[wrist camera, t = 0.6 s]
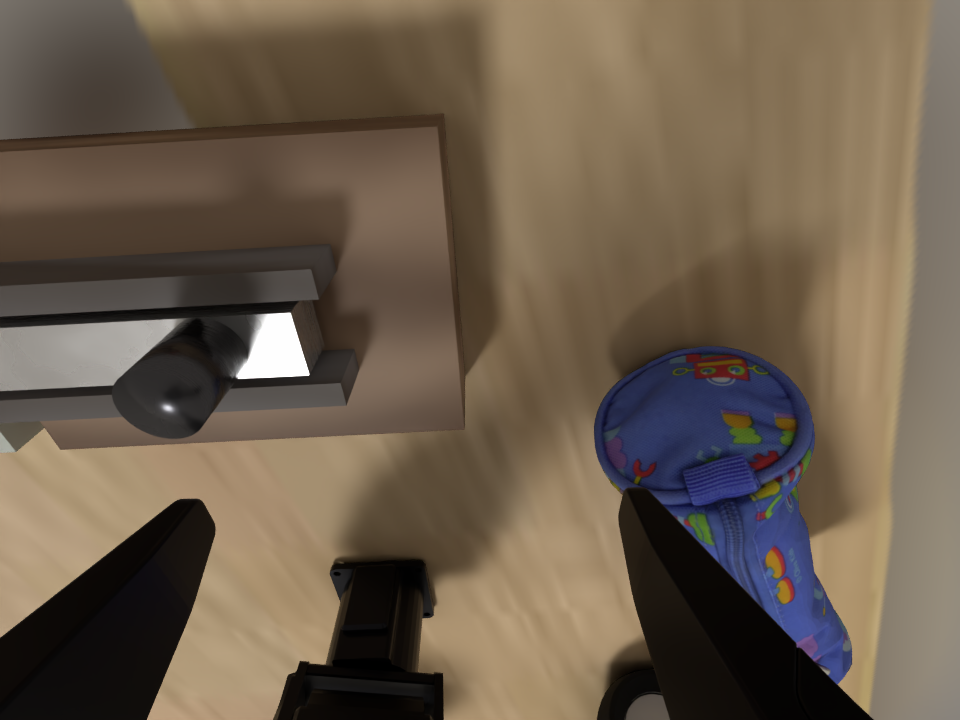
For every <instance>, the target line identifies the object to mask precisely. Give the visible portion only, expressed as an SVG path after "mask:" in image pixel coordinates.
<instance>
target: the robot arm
mask: <svg viewBox="0 0 960 720" xmlns="http://www.w3.org/2000/svg"><path fill="white" fill-rule="evenodd" d="M618 520H619V527H620V533H621V538H622V543H623V548H624V554H625V559H626V564H627V569H628V574H629V580H630V585H631V590H632V595H633V599H634V603H635V607H636V610H637V614H638V617H639V620H640V624H641V627H642V630H643V634H644V637H645V640H646V643H647V647H648V650H649V653H650V656H651V660H652V663H653V666H654V669H655V673H656V676H657V679H658V682H659V686H660V689H661V692H662V696H663V699H664V702H665V705H666V709H667V712H668V715H669V718H670V720H873V719H872V718H871V717H870V716H869V715H868V714H867V713H866V712H865V711H864V710H863V709H862V708H861V707H860V706H858V705H857V704H856V703H855V702H854V701H853V700H852V699H851V698H850V697H849V696H848V695H847V694H846V693H845V692H844V691H843V690H842V689H841V688H840V687H839V686H838V685H837V684H836V683H835V682H834V681H833V680H832V679H831V678H830V677H829V676H828V675H827V674H826V673H825V672H824V671H823V670H822V669H821V668H820V667H819V666H818V665H817V664H816V663H815V662H814V661H813V660H812V658H811V657H810V656H809V655H808V654H807V653H806V652H805V651H804V650H803V649H802V648H800V647H798V648H797V644H796V642H795V641H794V640H793V639H792V638H791V637H790V636H789V635H788V634H787V633H786V632H785V631H784V630H783V629H782V628H781V627H780V626H779V625H778V623H777V622H776V621H775V620H774V619H773V618H772V617H771V616H770V615H769V614H768V613H767V612H766V611H765V610H764V609H763V608H762V607H761V606H760V605H759V604H758V603H757V602H756V601H755V600H754V599H753V598H752V597H751V595H750V594H749V593H748V592H747V591H746V590H745V589H744V588H743V587H742V586H741V585H740V584H739V583H738V582H737V581H736V580H735V579H734V578H733V577H732V576H731V575H730V574H729V573H728V572H727V571H726V570H725V569H724V567H723V566H722V565H721V564H720V563H719V562H718V561H717V560H716V559H715V558H714V557H713V556H712V555H711V554H710V553H709V552H708V551H707V550H706V549H705V548H704V547H703V546H702V545H701V544H700V543H699V542H698V541H697V540H696V538H695V537H694V536H693V535H692V534H691V533H690V532H689V531H688V530H687V529H686V528H685V527H684V526H683V525H682V524H681V523H680V522H679V521H678V520H677V519H676V518H675V517H674V516H673V515H672V514H671V513H670V512H669V510H668V509H667V508H666V507H665V506H664V505H663V504H662V503H661V502H660V501H659V500H658V499H657V498H656V497H655V496H654V495H653V494H652V493H651V492H650V491H649V490H648V489H647V488H644V487H628V488H626V489H625V490H624V492H623V496H622V500H621V505H620V509H619V516H618ZM214 537H215V523H214V521H213V519H212V517H211V516H210V514H209V512H208V510H207V508H206V506H205V505H204V503H203V502H202V501H201V500H200V499H180V500H177V501H175V502H174V503H172V504H171V505H170V506H168V507H167V508H166V509H164V510H163V511H162V512H161V513H159V514H158V515H157V516H156V517H154V518H153V519H152V520H150V521H149V522H148V523H147V524H145V525H144V526H143V527H141V528H140V529H139V530H138V531H136V532H135V533H134V534H132V535H131V536H130V537H129V538H127V539H126V540H125V541H123V542H122V543H121V544H120V545H118V546H117V547H116V548H115V549H113V550H112V551H111V552H109V553H108V554H107V555H106V556H104V557H103V558H102V559H100V560H99V561H98V562H97V563H95V564H94V565H93V566H91V567H90V568H89V569H88V570H86V571H85V572H84V573H83V574H81V575H80V576H79V577H77V578H76V579H75V580H74V581H72V582H71V583H70V584H68V585H67V586H66V587H65V588H63V589H62V590H61V591H59V592H58V593H57V594H56V595H54V596H53V597H52V598H50V599H49V600H48V601H47V602H45V603H44V604H43V605H42V606H40V607H39V608H38V609H36V610H35V611H34V612H33V613H31V614H30V615H29V616H27V617H26V618H25V619H24V620H22V621H21V622H20V623H18V624H17V625H16V626H15V627H13V628H12V629H11V630H10V631H8V632H7V633H6V634H4V635H3V636H2V637H1V638H0V720H147V718H148V715H149V713H150V710H151V708H152V706H153V703H154V701H155V698H156V696H157V694H158V691H159V689H160V686H161V684H162V682H163V679H164V677H165V674H166V672H167V670H168V667H169V665H170V662H171V660H172V657H173V655H174V653H175V650H176V648H177V645H178V643H179V641H180V638H181V636H182V633H183V631H184V629H185V626H186V624H187V621H188V619H189V616H190V614H191V611H192V608H193V605H194V602H195V599H196V596H197V593H198V589H199V586H200V583H201V579H202V576H203V573H204V570H205V566H206V563H207V560H208V556H209V553H210V550H211V547H212V543H213V540H214ZM330 576H331V578H332V581H333V584H334V586H335V589H336V592H337V594H338V597H339V600H340V606H339V611H338V615H337V619H336V623H335V627H334V631H333V636H332V640H331V644H330V648H329V652H328V656H327V661H326V665H321V664H309V662H306V661H300V663H299V666H298V669H297V671H296V672H295V673H292V674H289V675H288V677H287V680H286V684H285V687H284V690H283V694H282V697H281V700H280V703H279V706H278V709H277V711H276V714H275V716H274V718H273V720H444V714H443V673H437V672H434V674H429V673H418V663H419V651H420V640H421V628H422V618H431V617H432V616H433V615H434V606H433V601H432V596H431V590H430V585H429V580H428V574H427V569H426V564H425V563H424V562H423V561H420V560H414V561H392V562H371V563H350V564H335V565H333V566H332V567H331V570H330Z"/></svg>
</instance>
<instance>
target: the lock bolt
mask: <svg viewBox="0 0 960 720" xmlns="http://www.w3.org/2000/svg"><path fill="white" fill-rule="evenodd" d="M323 347H324V341H323V338H322V334H321V330H320V327H319V323H318V319H317V315H316V312H315V308H314V304H313V300H301V301H283V302H264V303H245V304H227V305H208V306H190V307H171V308H152V309H134V310H115V311H96V312H78V313H59V314H41V315H22V316H3V317H0V391H12V390H32V389H51V388H71V387H90V386H109V385H113V389H112V399H113V402H114V405H115V407H116V409H117V410H118V411H119V413H120V414H121V415H122V416H123V418H125V419H126V420H127V421H128V422H129V423H130V424H132V425H133V426H135V427H136V428H138V429H139V430H141V431H143V432H146V433H148V434H150V435H153V436H157V437H161V438H167V439H181V438H186V437H189V436H192V435H194V434H195V433H197V432H198V431H199V430H200V429H201V428H202V426H203V425H204V424H205V422H206V421H207V420H208V418H209V417H210V416H211V414H212V413H213V411H214V410H215V409H216V407H217V406H218V405H219V403H220V402H221V401H222V399H223V398H224V396H225V395H226V394H227V392H228V391H229V390H230V388H231V387H232V386H233V384H234V383H235V381H236V380H237V379H245V378H264V377H283V376H303V375H310V373H311V371H312V369H313V367H314V365H315V363H316V361H317V359H318V357H319V355H320V353H321V351H322V349H323Z"/></svg>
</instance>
